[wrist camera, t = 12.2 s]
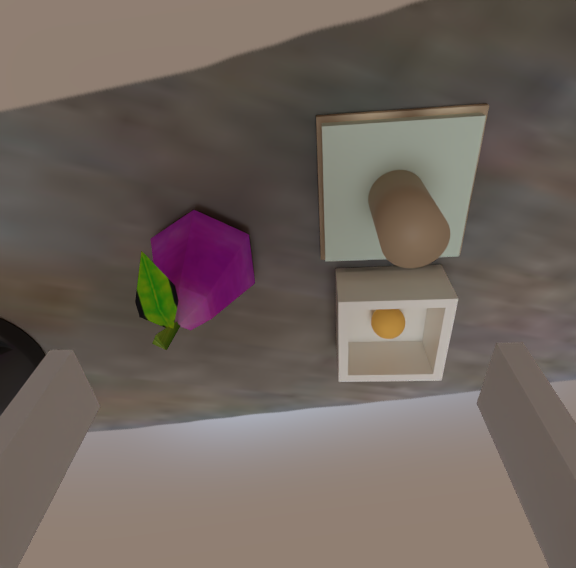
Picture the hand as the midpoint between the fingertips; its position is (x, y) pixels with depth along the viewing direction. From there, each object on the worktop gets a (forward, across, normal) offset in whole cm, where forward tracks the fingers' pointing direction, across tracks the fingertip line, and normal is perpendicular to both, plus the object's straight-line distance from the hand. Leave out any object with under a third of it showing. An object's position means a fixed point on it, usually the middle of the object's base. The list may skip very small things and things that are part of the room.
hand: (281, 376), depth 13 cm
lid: (+27, +9, -5) cm, 28 cm away
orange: (+25, +9, -19) cm, 32 cm away
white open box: (+27, +9, -19) cm, 34 cm away
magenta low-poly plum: (+28, -10, -11) cm, 32 cm away
